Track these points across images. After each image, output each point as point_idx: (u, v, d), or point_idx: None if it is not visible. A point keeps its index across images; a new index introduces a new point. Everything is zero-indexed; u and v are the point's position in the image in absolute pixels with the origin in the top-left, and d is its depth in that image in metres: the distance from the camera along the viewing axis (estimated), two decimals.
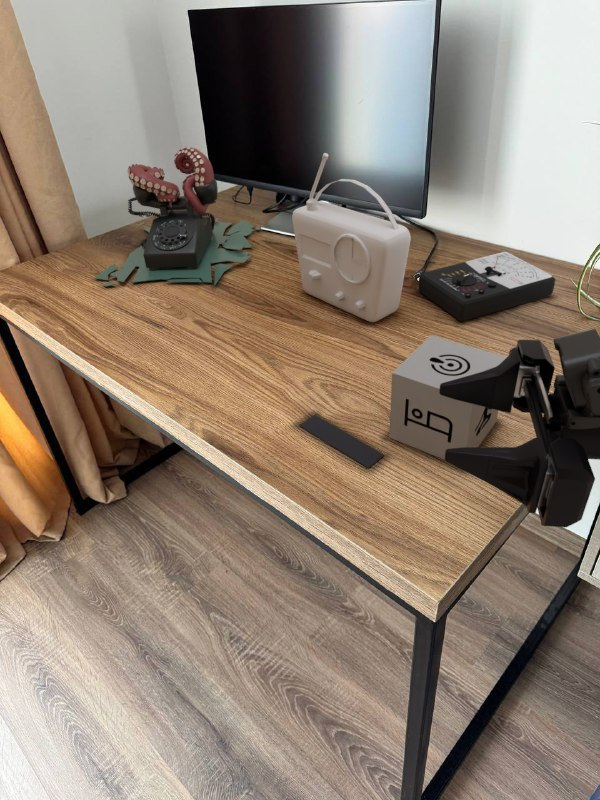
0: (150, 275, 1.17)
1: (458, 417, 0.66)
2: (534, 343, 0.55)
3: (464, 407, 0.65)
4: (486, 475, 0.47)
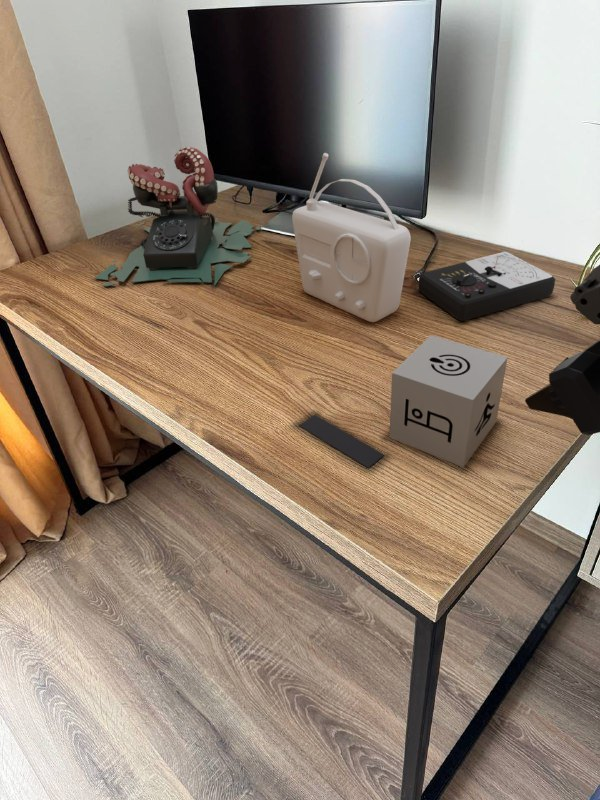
0: (150, 275, 1.17)
1: (458, 417, 0.66)
2: None
3: (464, 407, 0.65)
4: (555, 409, 0.55)
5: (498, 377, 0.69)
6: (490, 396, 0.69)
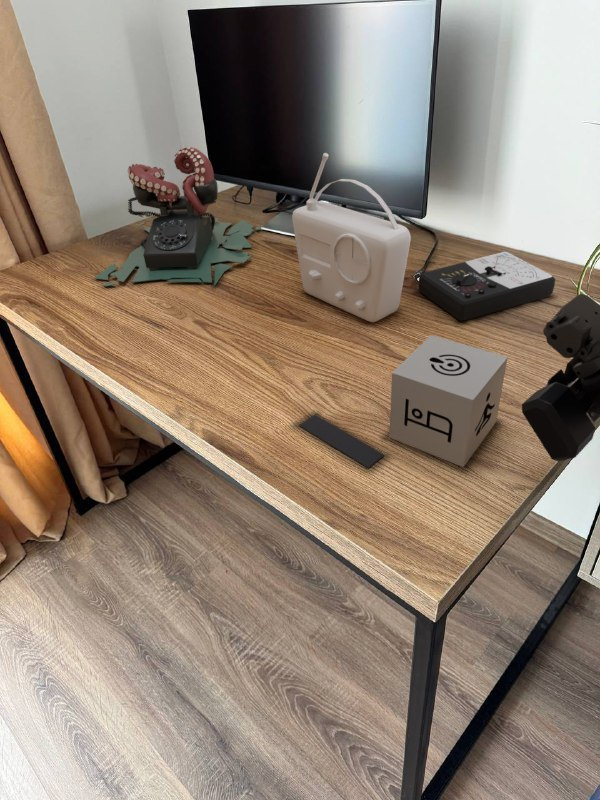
0: (150, 275, 1.17)
1: (458, 417, 0.66)
2: None
3: (464, 407, 0.65)
4: None
5: (498, 377, 0.69)
6: (490, 396, 0.69)
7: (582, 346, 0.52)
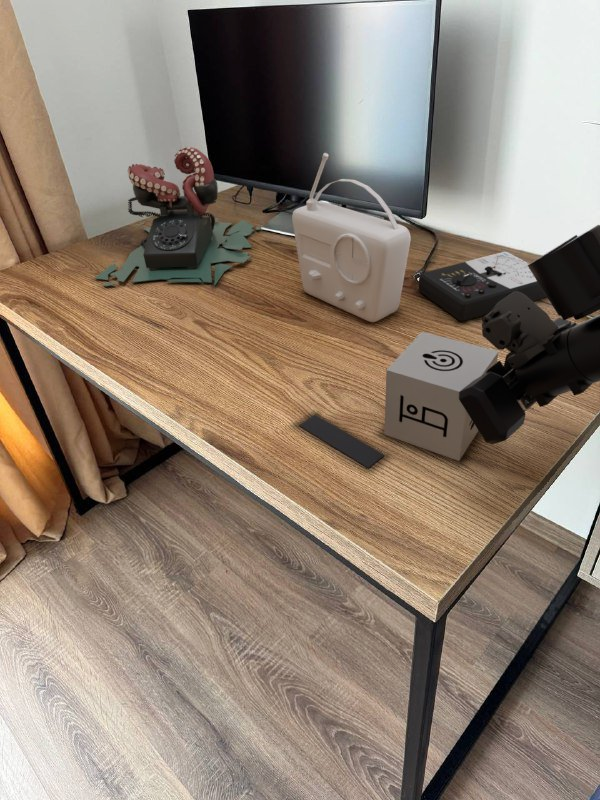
0: (150, 275, 1.17)
1: (453, 411, 0.67)
2: (553, 321, 0.66)
3: (459, 401, 0.66)
4: None
5: None
6: None
7: (513, 339, 0.57)
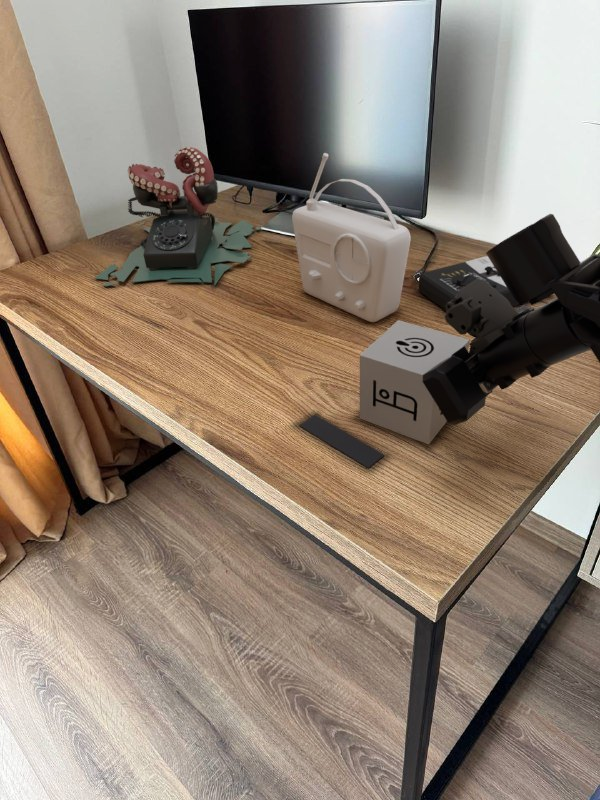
0: (150, 275, 1.17)
1: (422, 396, 0.69)
2: (517, 309, 0.69)
3: None
4: None
5: None
6: None
7: (473, 324, 0.59)
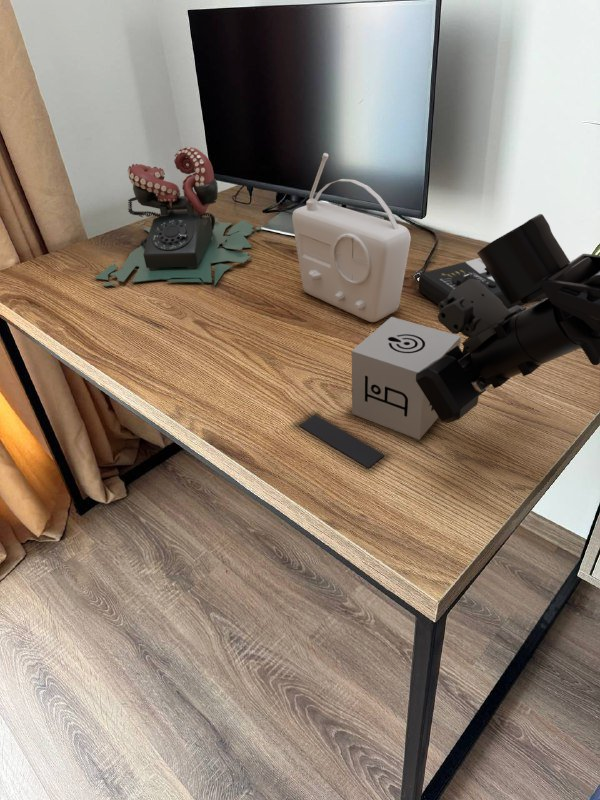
0: (150, 275, 1.17)
1: (412, 391, 0.70)
2: (510, 308, 0.69)
3: None
4: None
5: None
6: None
7: (466, 323, 0.60)
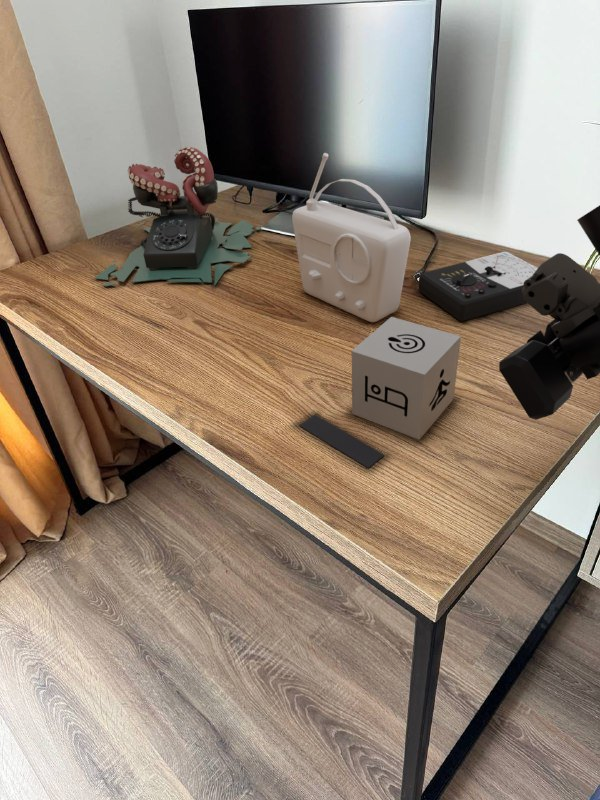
0: (150, 275, 1.17)
1: (412, 391, 0.70)
2: None
3: (417, 382, 0.69)
4: None
5: (452, 355, 0.74)
6: (444, 373, 0.73)
7: (559, 303, 0.52)
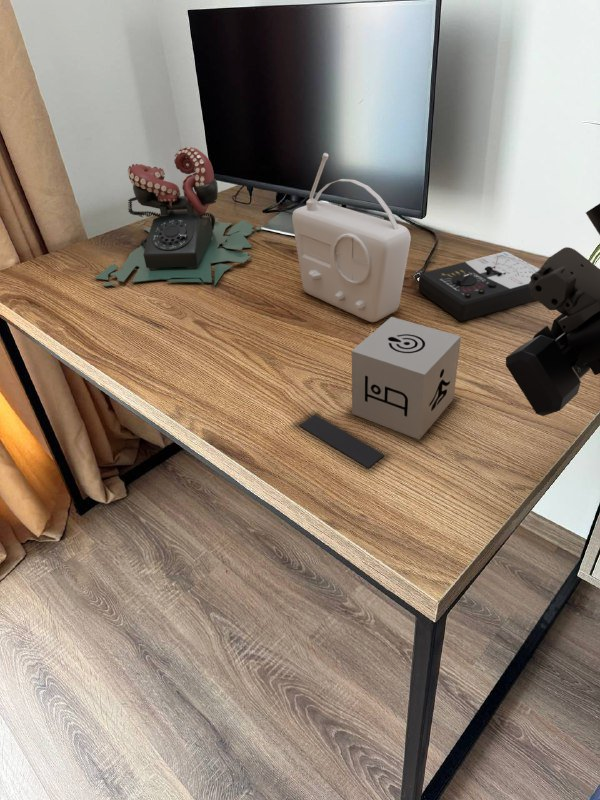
0: (150, 275, 1.17)
1: (412, 391, 0.70)
2: None
3: (417, 382, 0.69)
4: None
5: (452, 355, 0.74)
6: (444, 373, 0.73)
7: (567, 297, 0.51)
